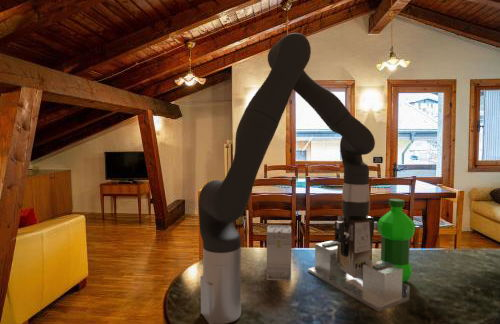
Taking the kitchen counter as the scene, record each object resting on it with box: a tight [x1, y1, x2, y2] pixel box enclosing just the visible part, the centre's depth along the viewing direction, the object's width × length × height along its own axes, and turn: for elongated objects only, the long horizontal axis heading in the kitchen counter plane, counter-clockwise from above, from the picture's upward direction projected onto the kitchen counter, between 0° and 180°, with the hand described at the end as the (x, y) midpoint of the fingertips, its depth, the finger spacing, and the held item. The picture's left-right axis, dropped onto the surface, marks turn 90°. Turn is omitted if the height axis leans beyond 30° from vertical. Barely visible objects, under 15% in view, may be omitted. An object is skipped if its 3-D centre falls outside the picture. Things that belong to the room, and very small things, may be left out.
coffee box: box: [337, 214, 374, 278], centre depth 96 cm, size 9×6×16 cm
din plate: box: [307, 240, 411, 312], centre depth 97 cm, size 12×28×10 cm, turn 29°
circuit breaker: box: [266, 224, 292, 282], centre depth 106 cm, size 8×14×15 cm, turn 174°
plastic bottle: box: [376, 198, 416, 283], centre depth 99 cm, size 10×10×25 cm
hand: (354, 253), depth 96 cm, fingers closed on coffee box, 7 cm apart
